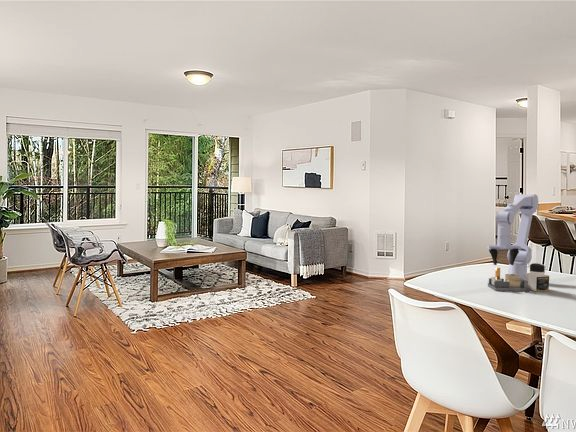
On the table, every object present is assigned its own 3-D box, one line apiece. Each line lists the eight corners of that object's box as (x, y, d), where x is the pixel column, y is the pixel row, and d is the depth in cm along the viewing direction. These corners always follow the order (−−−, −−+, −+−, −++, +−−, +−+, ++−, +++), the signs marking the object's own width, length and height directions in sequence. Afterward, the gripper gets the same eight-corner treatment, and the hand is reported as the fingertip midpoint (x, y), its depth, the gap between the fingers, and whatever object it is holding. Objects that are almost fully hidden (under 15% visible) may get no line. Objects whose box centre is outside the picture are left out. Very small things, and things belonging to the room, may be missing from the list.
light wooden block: (505, 284, 211) (505, 273, 210) (516, 284, 210) (516, 273, 210) (508, 286, 207) (508, 275, 206) (519, 286, 206) (520, 275, 206)
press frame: (487, 286, 214) (487, 276, 214) (519, 286, 213) (519, 277, 213) (495, 291, 204) (495, 281, 204) (528, 291, 203) (529, 281, 203)
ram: (490, 283, 212) (491, 266, 211) (497, 283, 211) (498, 266, 211) (494, 285, 207) (495, 268, 206) (501, 286, 206) (502, 268, 206)
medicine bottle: (536, 291, 203) (537, 265, 202) (524, 288, 210) (525, 263, 209) (549, 290, 205) (550, 264, 204) (536, 287, 212) (537, 262, 211)
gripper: (491, 237, 209) (490, 266, 210) (523, 237, 208) (522, 266, 209) (486, 235, 216) (485, 263, 217) (517, 235, 215) (516, 263, 216)
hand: (503, 264), depth 214 cm, fingers open, 7 cm apart
